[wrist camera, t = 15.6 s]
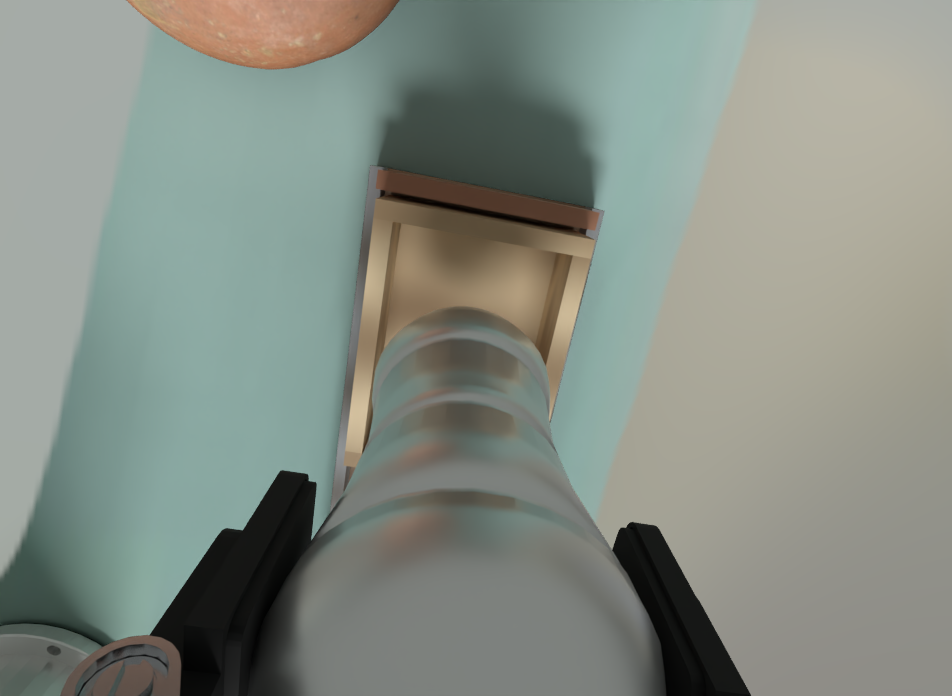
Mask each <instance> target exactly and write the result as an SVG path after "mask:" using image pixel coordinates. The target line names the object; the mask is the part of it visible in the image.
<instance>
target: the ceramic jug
mask: <svg viewBox="0 0 952 696" xmlns="http://www.w3.org/2000/svg"><path fill="white" fill-rule="evenodd" d="M127 1H128V2H129V3H130V4H131V5H132V6H133V7H134V8H135V9H136V10H137V11H138V12H140V13H141V14H142V15H143V16H144V17H146V18H147V19H148V20H149V21H150V22H152V23H153V24H154V25H156V26H157V27H158V28H159V29H161V30H162V31H164V32H165V33H167V34H168V35H170V36H171V37H173V38H175V39H176V40H178V41H180V42H182V43H183V44H185V45H187V46H189V47H191V48H192V49H195V50H197V51H199V52H201V53H203V54H206V55H208V56H211V57H214V58H216V59H219V60H222V61H225V62H229V63H233V64H237V65H241V66H247V67H253V68H261V69H284V68H294V67H298V66H302V65H306V64H309V63H312V62H315V61H317V60H321V59H325V58H328V57H331V56H334V55H336V54H339V53H341V52H343V51H345V50H348V49H349V48H351V47H352V46H354V45H355V44H357V43H358V42H360V41H361V40H362V39H364V38H365V37H366V36H367V35H369V34H370V33H371V32H372V31H374V30H375V29H376V28H377V27H378V26H379V25H380V24H381V23H382V22H383V21H384V20H385V18H386V17H387V16H388V15H389V14H390V12H391V11H392V10H393V8H394V7H395V6H396V4H397V3H398V2H399V0H127Z"/></svg>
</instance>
